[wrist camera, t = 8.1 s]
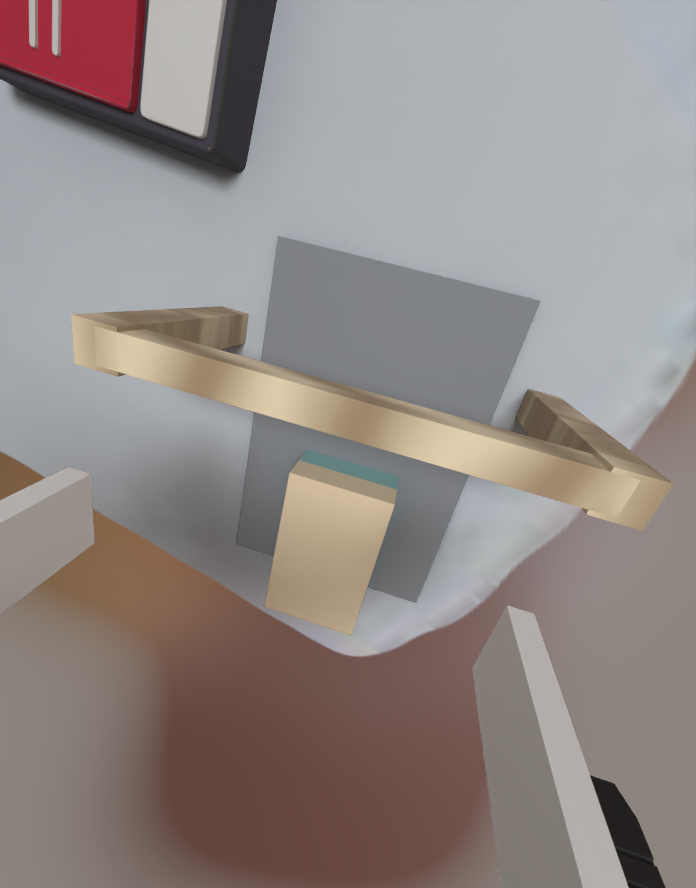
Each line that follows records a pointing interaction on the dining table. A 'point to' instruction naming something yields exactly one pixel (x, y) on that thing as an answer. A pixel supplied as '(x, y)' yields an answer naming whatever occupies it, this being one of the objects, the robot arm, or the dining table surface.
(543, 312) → the dining table surface
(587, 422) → the rail
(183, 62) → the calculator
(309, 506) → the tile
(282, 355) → the mat
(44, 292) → the dining table surface
